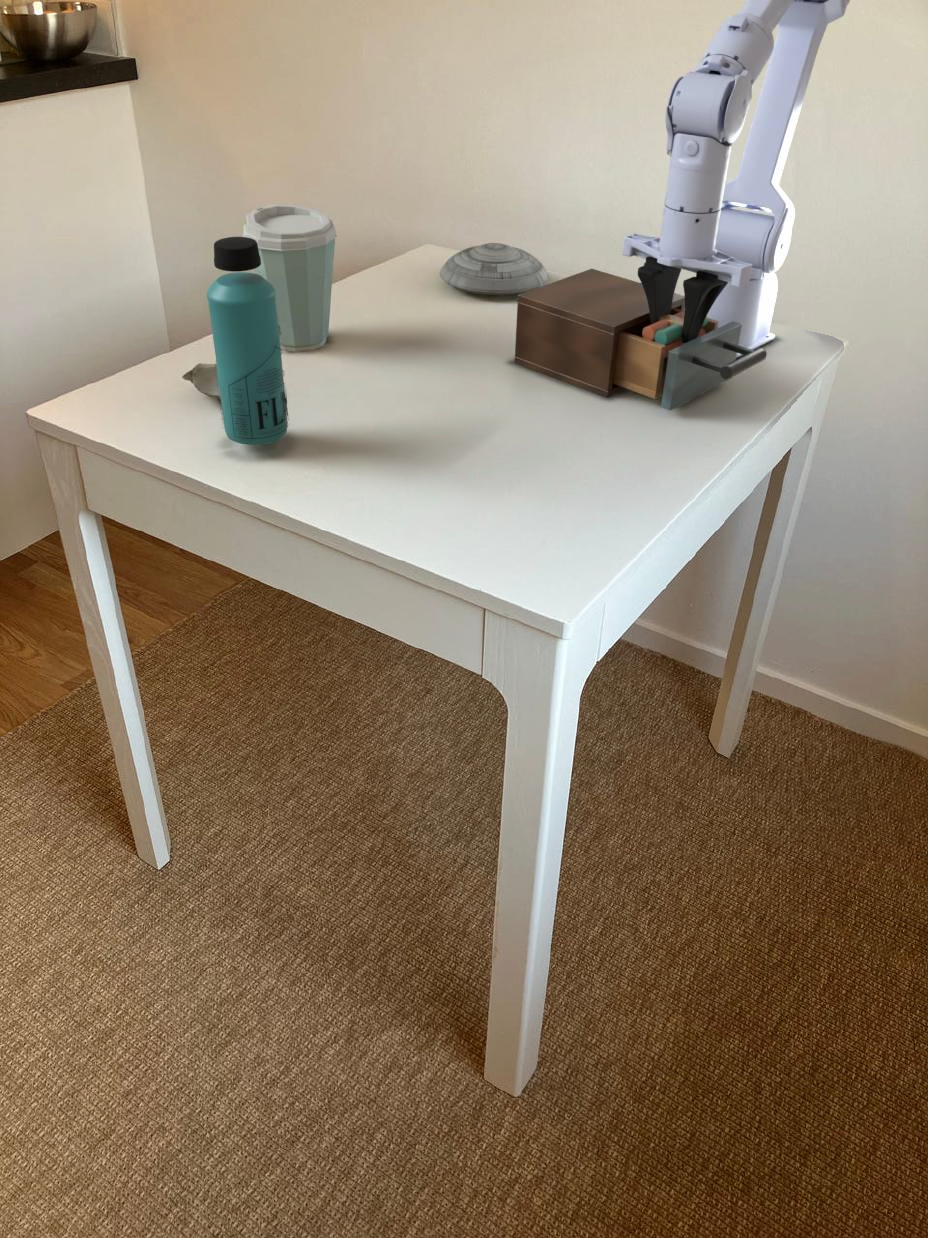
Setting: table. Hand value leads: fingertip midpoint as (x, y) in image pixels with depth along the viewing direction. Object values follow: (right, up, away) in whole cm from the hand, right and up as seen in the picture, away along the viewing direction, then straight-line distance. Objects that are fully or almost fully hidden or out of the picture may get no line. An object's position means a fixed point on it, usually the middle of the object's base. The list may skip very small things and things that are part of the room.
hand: (674, 335), depth 114 cm
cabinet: (-7, -1, +9) cm, 12 cm away
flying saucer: (-19, +15, +31) cm, 39 cm away
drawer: (+1, -5, +3) cm, 5 cm away
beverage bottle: (-44, -14, -9) cm, 47 cm away
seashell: (-49, -6, 0) cm, 49 cm away
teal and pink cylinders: (0, -1, +1) cm, 1 cm away
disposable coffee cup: (-43, +2, +13) cm, 45 cm away
